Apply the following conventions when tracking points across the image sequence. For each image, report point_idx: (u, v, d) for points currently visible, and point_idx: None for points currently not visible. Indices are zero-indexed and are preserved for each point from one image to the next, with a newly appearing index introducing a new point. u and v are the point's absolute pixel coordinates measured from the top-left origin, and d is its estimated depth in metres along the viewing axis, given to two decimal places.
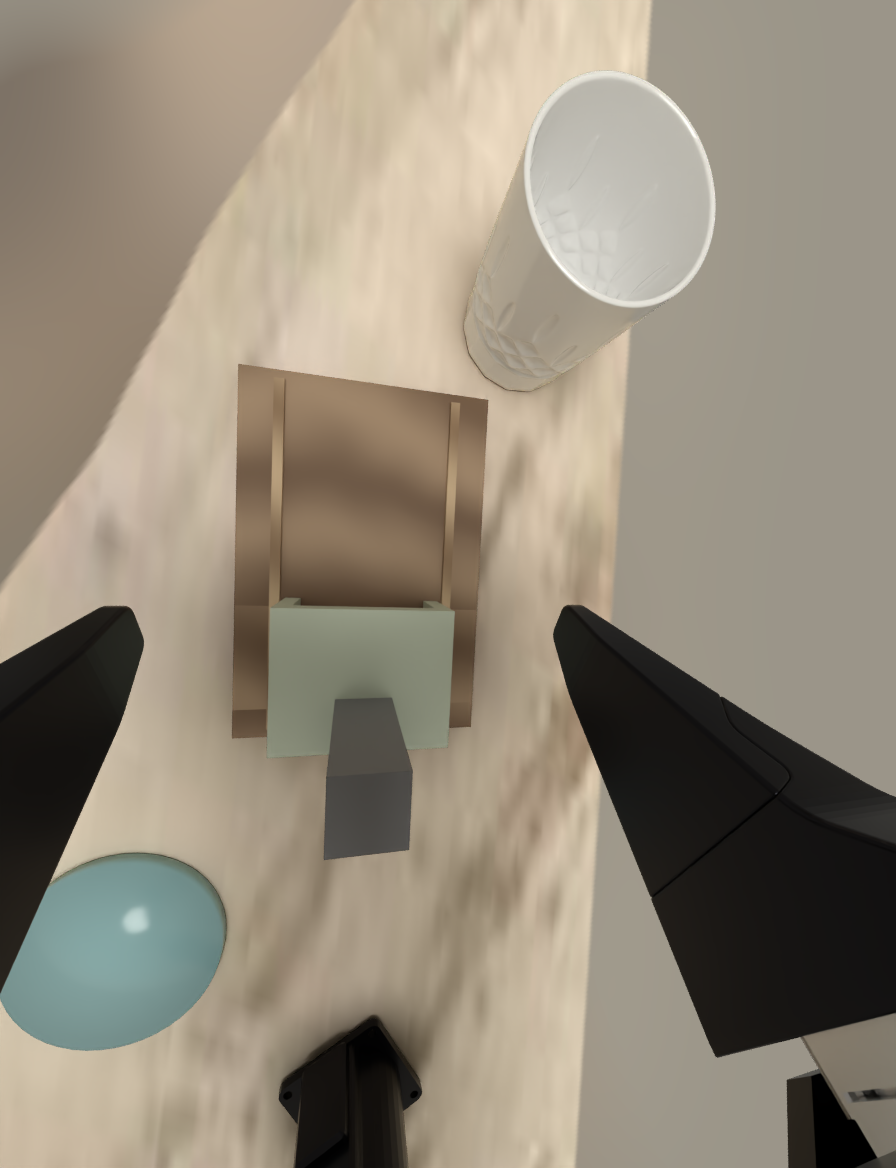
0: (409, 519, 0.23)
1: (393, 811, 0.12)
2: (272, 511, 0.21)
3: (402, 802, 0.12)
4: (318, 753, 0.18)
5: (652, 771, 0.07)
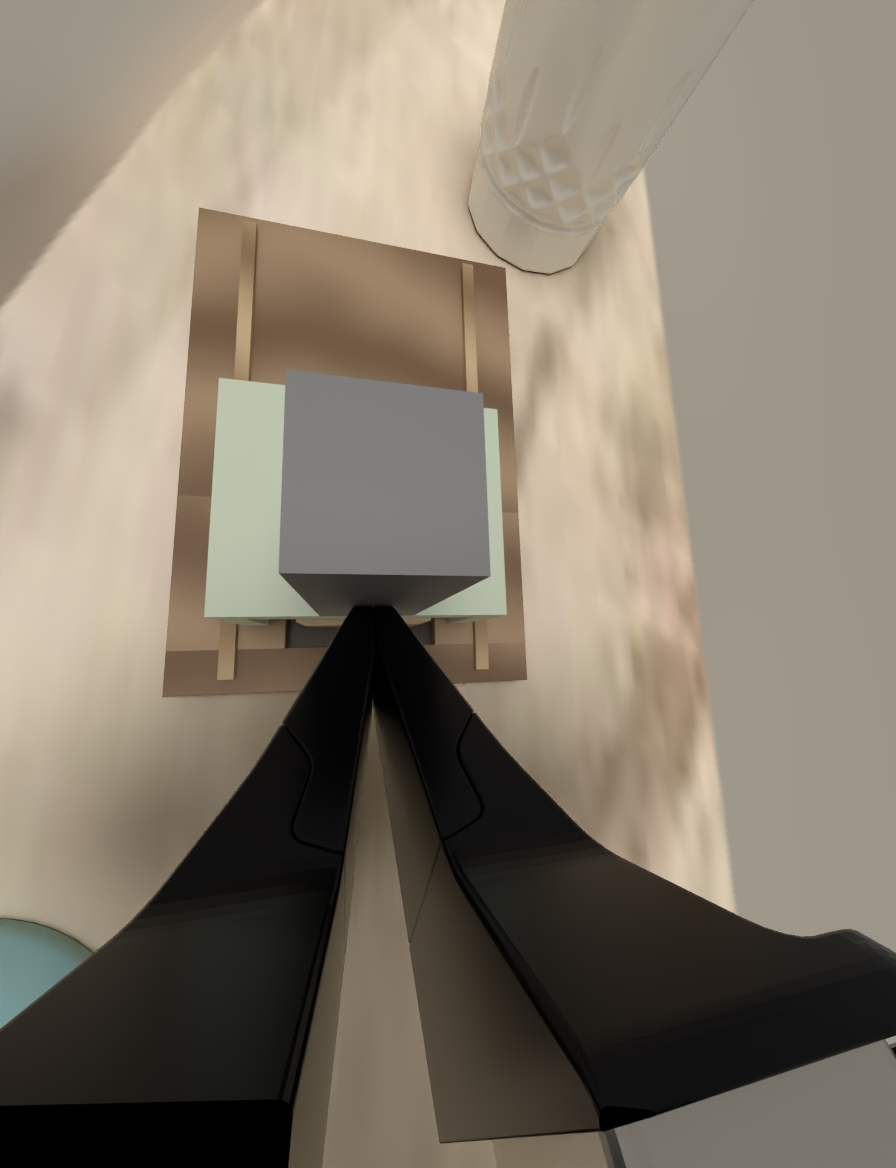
0: None
1: (448, 478, 0.05)
2: (237, 371, 0.16)
3: (466, 460, 0.05)
4: (294, 616, 0.11)
5: (401, 799, 0.06)
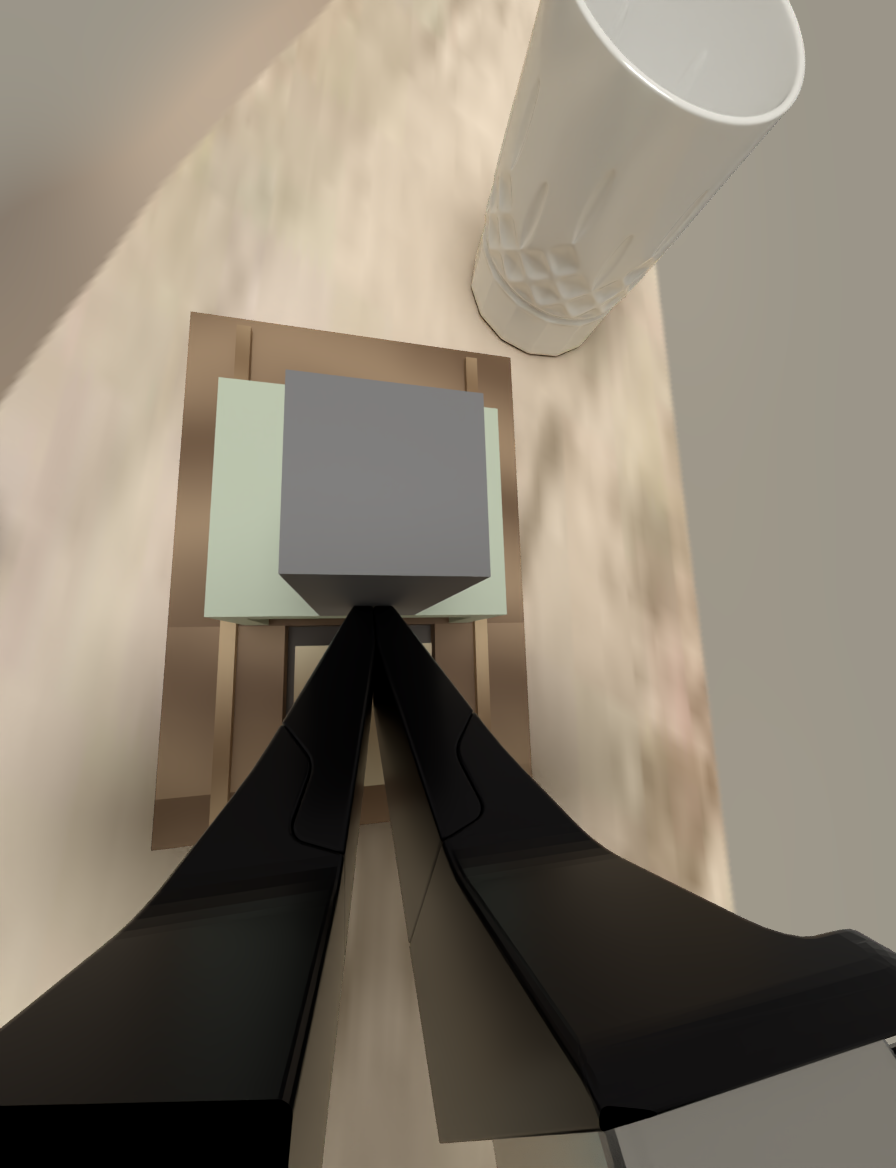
0: None
1: (448, 479, 0.05)
2: None
3: (466, 460, 0.05)
4: (294, 616, 0.11)
5: (401, 799, 0.06)
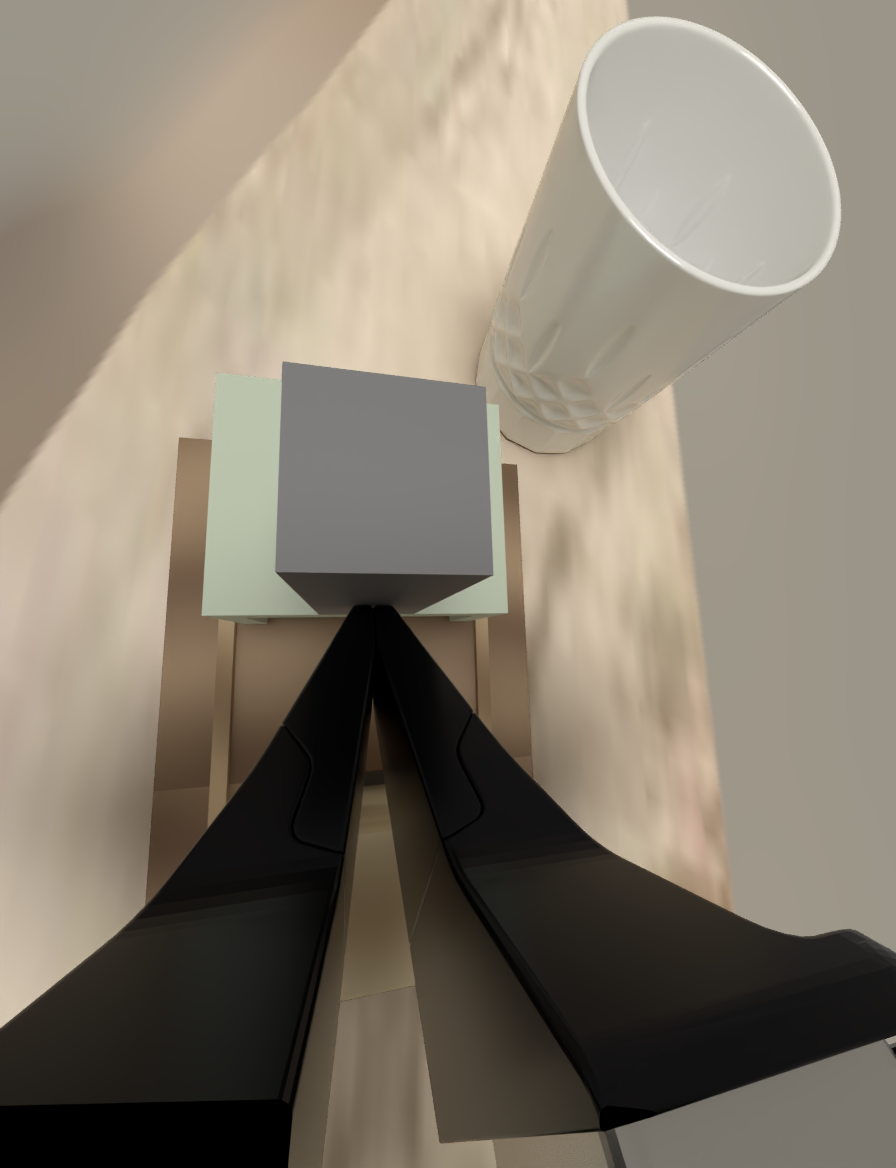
0: (424, 629, 0.16)
1: (449, 474, 0.05)
2: (221, 636, 0.14)
3: (468, 456, 0.05)
4: (293, 615, 0.11)
5: (401, 799, 0.06)
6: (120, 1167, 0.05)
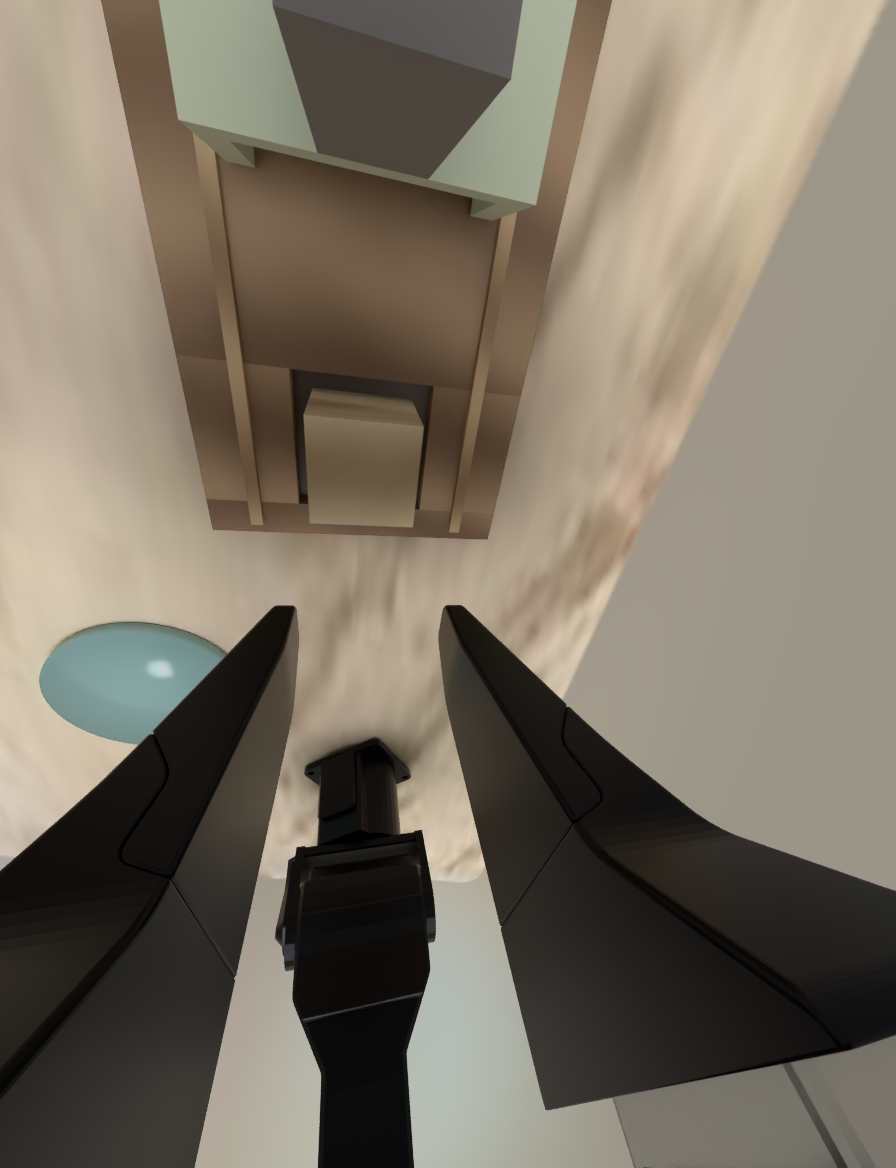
0: (439, 222, 0.14)
1: None
2: (202, 175, 0.12)
3: None
4: (287, 146, 0.09)
5: (496, 788, 0.07)
6: None
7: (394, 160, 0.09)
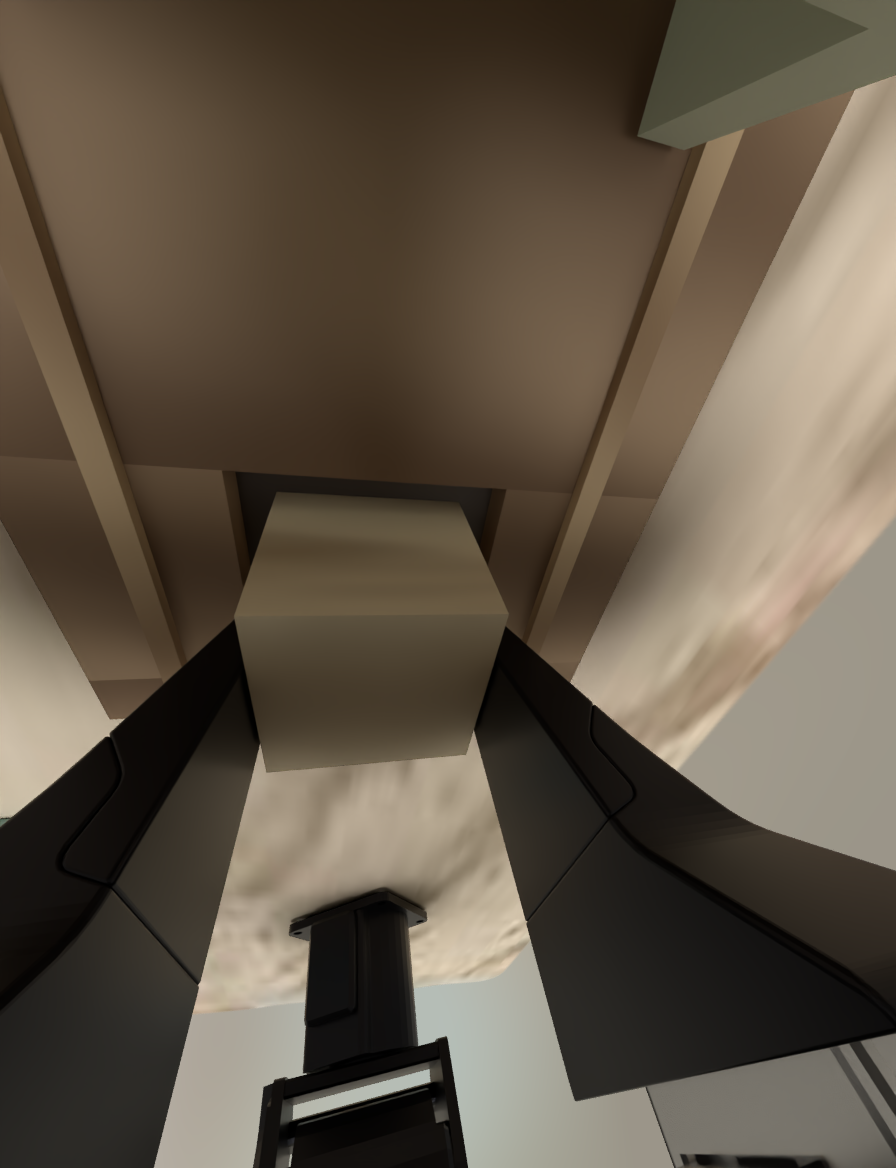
0: (558, 153, 0.06)
1: None
2: None
3: None
4: None
5: (523, 785, 0.07)
6: None
7: None
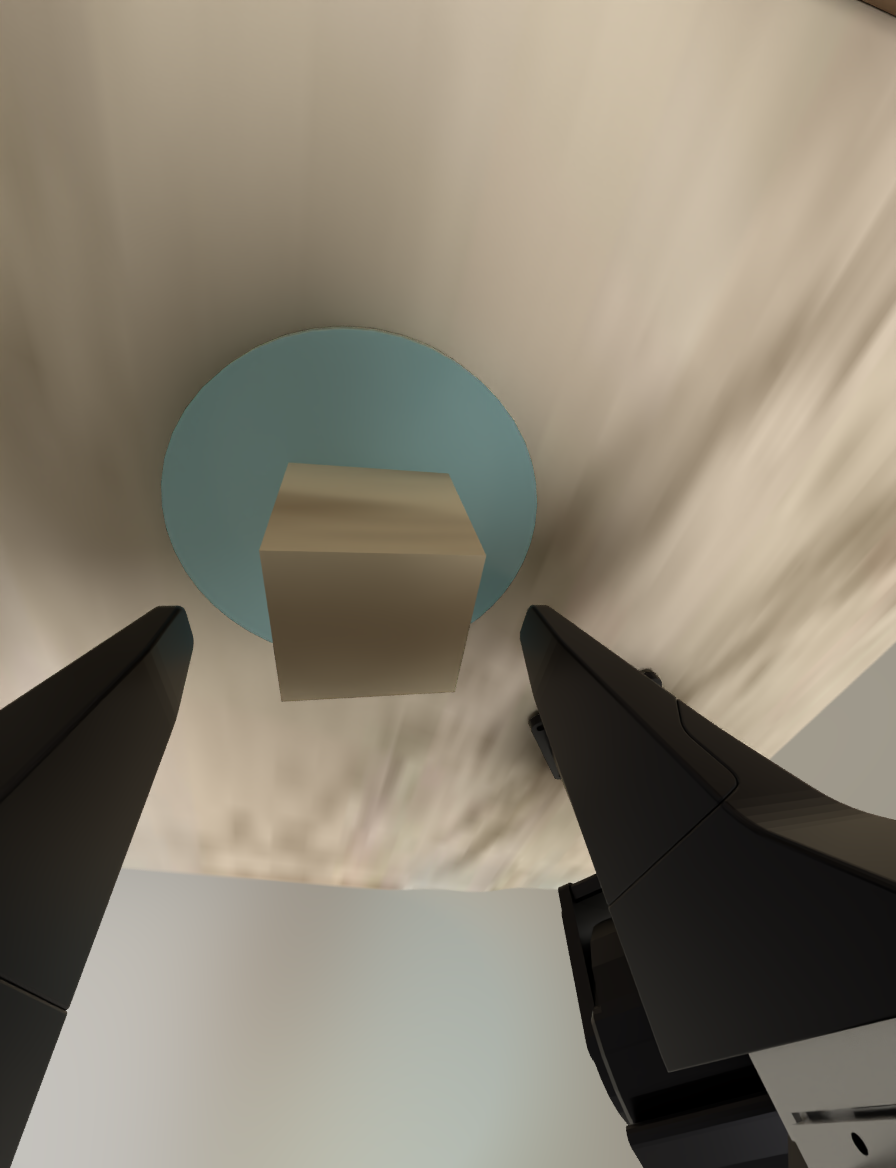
0: None
1: None
2: None
3: None
4: None
5: (608, 776, 0.07)
6: None
7: None
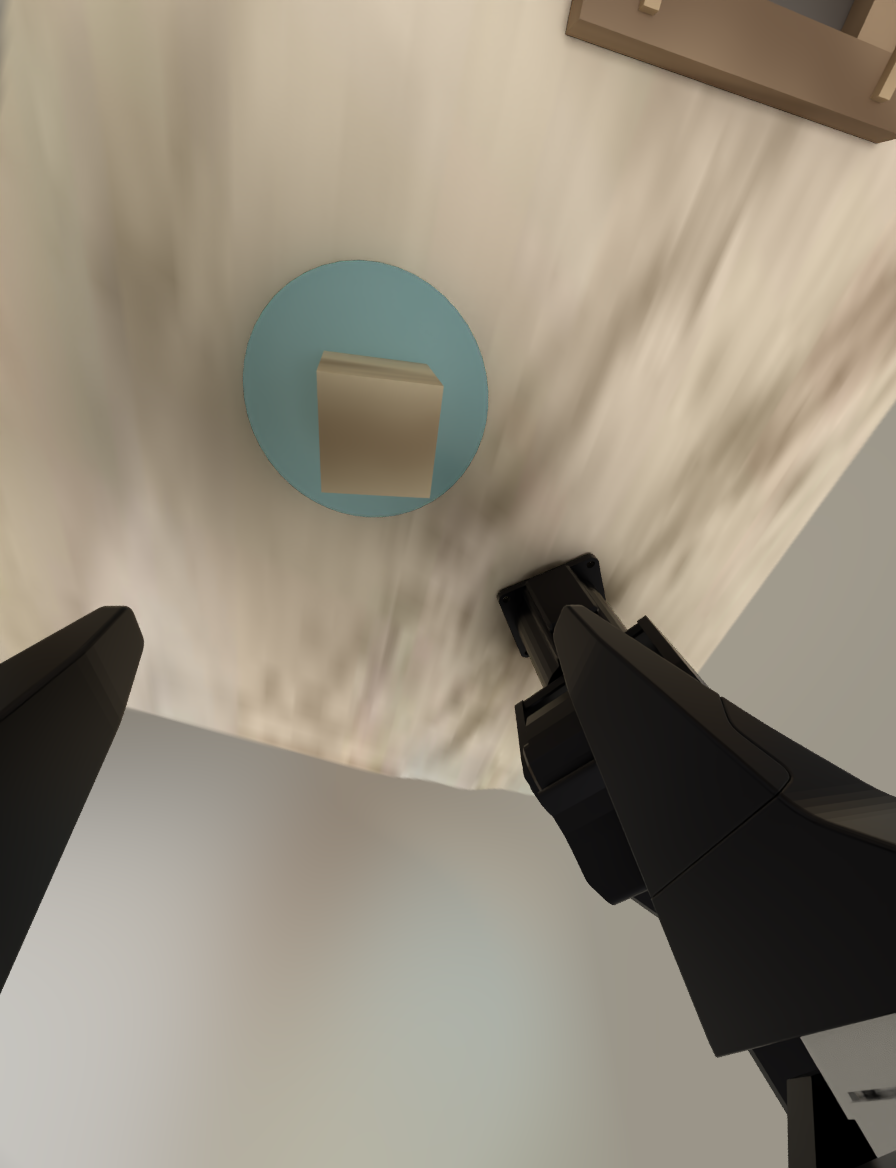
0: None
1: None
2: None
3: None
4: None
5: (652, 771, 0.07)
6: None
7: None
